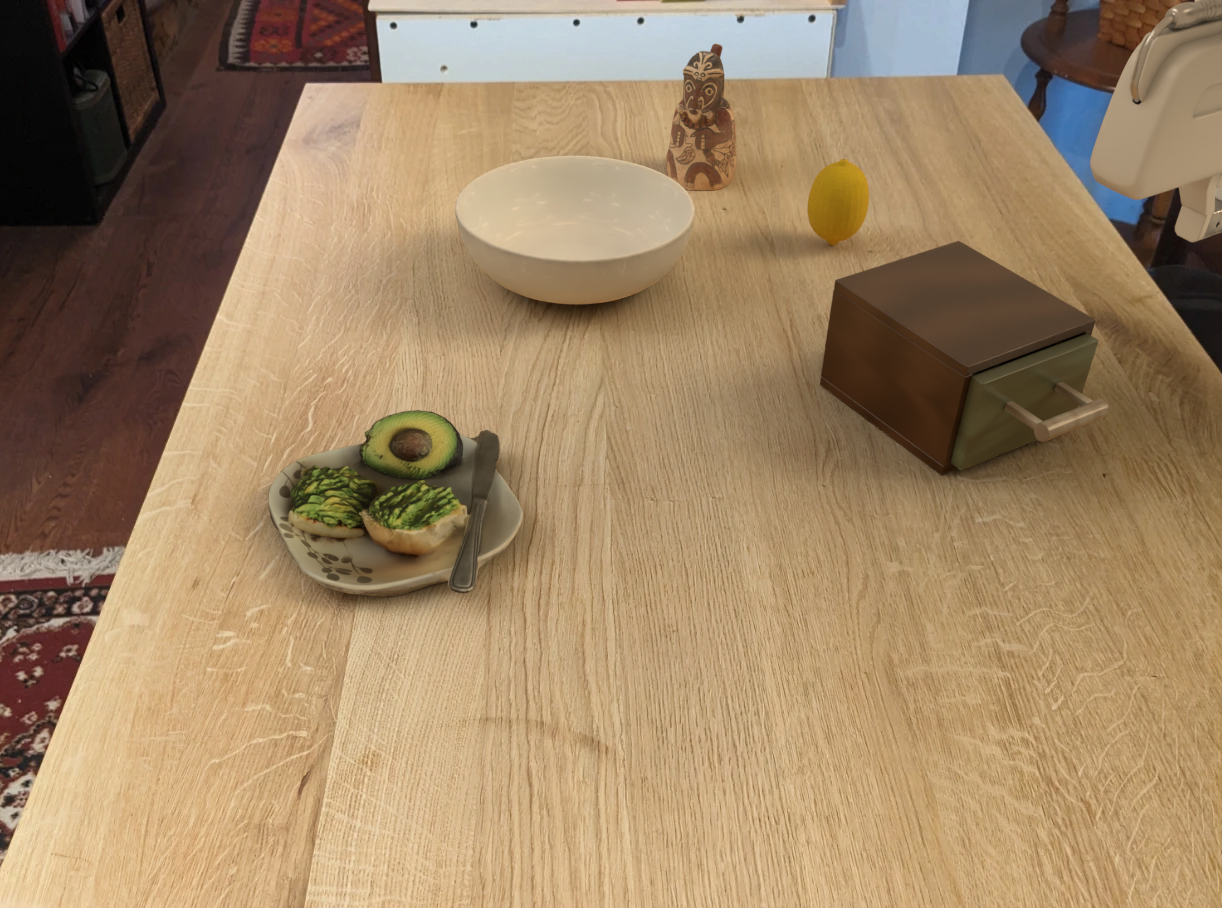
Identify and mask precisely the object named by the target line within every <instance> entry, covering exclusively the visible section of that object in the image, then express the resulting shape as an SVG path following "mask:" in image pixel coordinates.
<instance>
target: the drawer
mask: <svg viewBox="0 0 1222 908" xmlns="http://www.w3.org/2000/svg"><path fill="white" fill-rule="evenodd" d="M1062 342H1063V340H1062V341H1060V342H1057V343H1054V344H1051V345H1049V346H1046V347H1043V348H1041V349H1038V350H1035V351H1033V352H1030V353H1027V354H1024V355H1022V356H1019V357H1016V358H1014V359H1011V360H1008V361H1006V362H1003V363H1000V364H999V365H1000V366H998V367H995V368H993V369H990V370H987V371H985V372H982V373H979V374H977V375H974V376H972V377H971V381H970V385H969V389H968V393H967V397H966V401H965V405H964V409H963V413H962V418H961V422H960V426H959V430H958V434H957V438H956V442H955V446H954V450H953V454H952V458H951V464H953V465H954V466H955V467H957V469H958V470H960V471H964V470H966V469H969V468H972V467H974V466H976V465H979V464H981V463H983V462H986V461H989V460H991V459H993V458H995V457H998V456H1001V455H1003V454H1006V453H1008V452H1010V451H1013V450H1016V449H1018V448H1021V447H1024V446H1025V445H1028V444H1030V443H1033V442H1035V441H1038V442H1041V443H1046V442H1048V441H1050V440H1054V439H1055V438H1058V437H1060V436H1063V435H1066V434H1069V433H1071V432H1072V431H1075V430H1078V429H1080V428H1082V427H1084V426H1085V427H1086V426H1088V425H1090V424H1092V423H1095V422H1097V421H1099V420H1102V419H1105V418H1106V417H1107V416H1108V415H1109V412H1110V408H1109V407H1110V406H1109V404H1108V402H1107V401H1106V400H1105V399H1103V398H1098V399H1095V400H1092V399H1091V398H1089V397H1088V396H1086V395H1084V394H1083V392H1084V389H1085V385H1086V382H1087V380H1088V376H1089V373H1090V370H1091V367H1092V363H1093V359H1095V358H1094V357H1095V354H1096V351H1097V348H1098V345H1099V342H1100V340H1099V339H1098V338H1095V336H1093V335H1089V334H1084V335H1082V336H1079V337H1076V338H1074V339H1071V340H1068V341H1065V342H1063V343H1062Z"/></svg>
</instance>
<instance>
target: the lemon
mask: <svg viewBox="0 0 1222 908" xmlns="http://www.w3.org/2000/svg"><path fill="white" fill-rule="evenodd" d="M869 189H870V188H869V183H868V179H867V177H866V174H865V173H864V172H863V170H862V169H861V168H859V166H857V165H856V164H854V163H852V162H850V161H849V159H847V158H840V160H838V161H834V162H831V163H830V164H827V165H825V167H824V168H822V169H821V170H820V171H819V172H818V174H817V175H816V176H815V178H814V181H813V183H812V185H811V187H810V190H809V194H808V199H807V218H808V223H809V225H810V227H811V229H812V231H813V232H814V233H815V235H817V236H818V237H819V238H820V239H823V240H824V241H826V242H827V243H828V245H830V246H836V245H837V244H838V243H839V242H842V241H846V240H848V239H851V238H852V237H853V236H854V235H855V234H857V233H858V231H859V230H860V228H861V227H862V226H863V224H864V222H865V220H866V217H867V214H868V209H869V203H870V202H869V201H870V190H869Z"/></svg>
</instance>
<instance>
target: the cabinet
mask: <svg viewBox="0 0 1222 908" xmlns="http://www.w3.org/2000/svg"><path fill="white" fill-rule="evenodd" d="M831 297H832V299H831V305H830V312H829V318H828V324H827V332H826V338H825V343H824V344H825V345H824V350H823V351H824V352H823V359H822V365H821V371H820V378H819V379H820V380H819V385H820V386H821V387H822V388H823V389H825V390H826V391H828V392H829V393H830V394H832V395H833V396H834V397H836V398H837V399H838V400H839V401H840V402H842V403H844V404H845V405H847V406H848V407H849V408H850V409H852V410H853V411H854V412H856V413H857V414H859V415H860V416H861V417H862V418H864V419H865V420H867V421H868V422H869V423H871V424H873V426H874V427H876V428H878V430H880V431H882V432H883V433H884V434H886V435H887V436H888V437H890V438H891V439H892V440H894V441H895V442H896V443H897V444H899V445H901V446H902V447H903V448H904V449H906V450H907V451H908V452H910V453H911V454H912V455H914V456H915V457H916V458H918V459H919V460H920V461H922V462H923V463H924V464H926V465H927V466H929V468H931V469H933V471H936V472H937V473H938V474H939V475H941V476H943V475H945V474H947V473H950V472H953V471H955V470H957V469H958V468H957V467H955V466H954V465H953V464H951V458H952V454H953V450H954V446H955V442H956V438H957V434H958V430H959V426H960V422H961V418H962V413H963V409H964V405H965V401H966V397H967V393H968V389H969V385H970V381H971V377H972V376H973V373H976V372H979V371H981V370H984V369H987V368H989V367H992V366H995V365H997V364H1000V363H1003V362H1006V361H1008V360H1011V359H1014V358H1016V357H1019V356H1022V355H1024V354H1027V353H1030V352H1033V351H1035V350H1038V349H1041V348H1043V347H1046V346H1049V345H1051V344H1054V343H1057V342H1060V341H1062V340H1063V342H1065V341H1068V340H1071V339H1074V338H1076V337H1079V336H1082V335H1084V334H1089V335H1091V336H1093V331H1094V328H1095V324H1096V318H1094V317H1092V316H1090V315H1088V314H1087V313H1085V312H1083V311H1081V310H1080V309H1078V308H1077V307H1075V306H1073V305H1071V304H1070V303H1068V302H1066V301H1065V300H1063V299H1061V298H1059V297H1057V296H1055V295H1054V294H1052V293H1050V292H1049V291H1047V290H1045V289H1044V288H1042V287H1040V286H1038V285H1036V284H1035V283H1033V282H1031V281H1030V280H1028V279H1027V278H1024V277H1023V276H1022V275H1019V274H1018V273H1016V272H1014V271H1012V270H1011V269H1009V268H1007V267H1006V266H1003V265H1002V264H1000V263H998V262H997V261H995V260H994V259H991V258H990V257H989V256H986V255H985V254H983V253H981V252H980V251H977V250H976V249H974V248H973V247H971V246H969V245H967V244H966V243H964V242H963V241H961V240H957V241H956V240H955V241H953V242H949V243H947V244H944V245H941V246H938V247H935V248H931V249H927V250H925V251H922V252H919V253H916V254H913V255H910V256H909V255H908V256H906V257H902V258H900V259H897V260H893V261H889V262H887V263H884V264H881V265H878V266H874V267H871V268H868V269H865V270H862V271H859V272H856V273H853V274H852V273H851V274H849V275H846V276H843V277H840V278H837V279H835V280H834V286H833V291H832V296H831ZM1063 342H1062V343H1063Z"/></svg>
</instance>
